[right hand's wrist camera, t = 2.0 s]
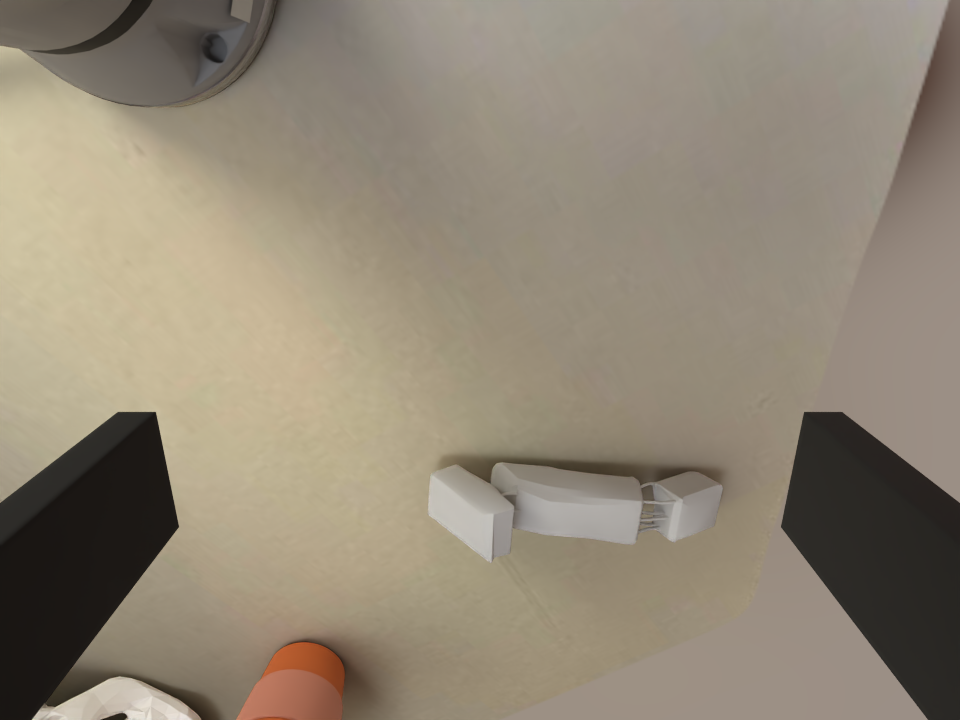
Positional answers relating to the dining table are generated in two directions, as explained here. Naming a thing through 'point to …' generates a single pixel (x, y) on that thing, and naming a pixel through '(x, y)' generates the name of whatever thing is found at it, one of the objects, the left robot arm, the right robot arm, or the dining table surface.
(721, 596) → the dining table surface
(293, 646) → the cup with straw
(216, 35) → the right robot arm
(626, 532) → the clamp
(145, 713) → the skull
